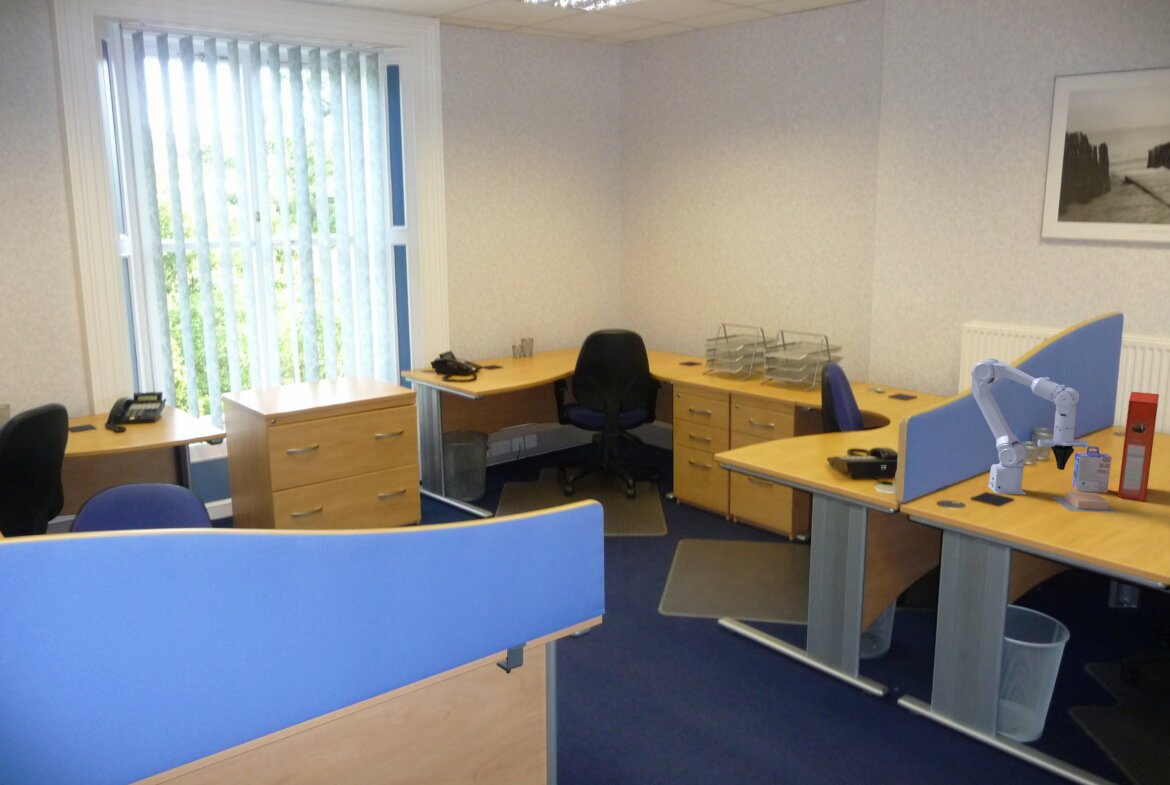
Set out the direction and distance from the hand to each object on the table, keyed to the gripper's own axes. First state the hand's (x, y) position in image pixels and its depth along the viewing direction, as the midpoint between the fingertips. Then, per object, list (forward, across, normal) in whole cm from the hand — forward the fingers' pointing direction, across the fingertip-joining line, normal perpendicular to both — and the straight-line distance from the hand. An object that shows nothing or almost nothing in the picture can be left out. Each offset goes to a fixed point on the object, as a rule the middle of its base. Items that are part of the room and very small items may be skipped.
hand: (1060, 469), depth 292 cm
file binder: (+11, +28, +12) cm, 32 cm away
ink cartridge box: (+11, +15, +13) cm, 22 cm away
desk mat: (+10, +6, -4) cm, 13 cm away
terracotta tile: (+9, +2, -4) cm, 10 cm away
